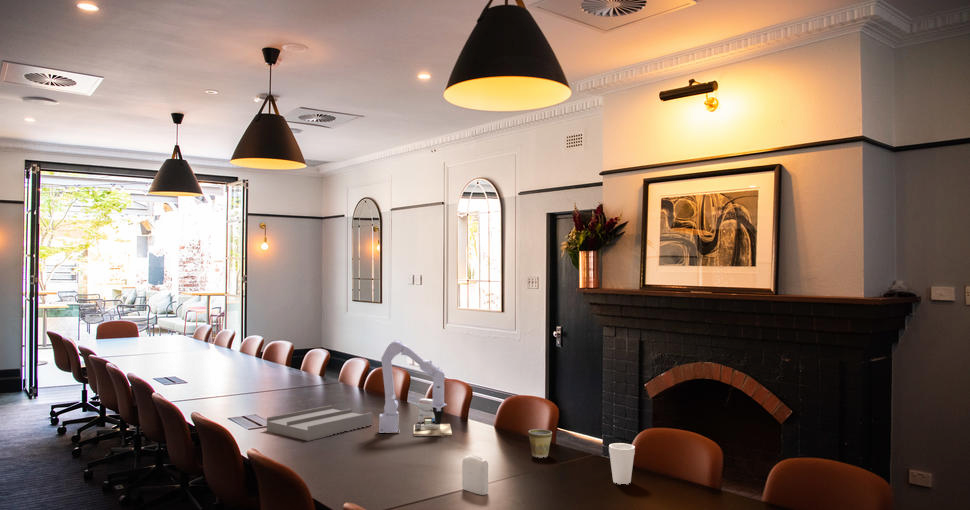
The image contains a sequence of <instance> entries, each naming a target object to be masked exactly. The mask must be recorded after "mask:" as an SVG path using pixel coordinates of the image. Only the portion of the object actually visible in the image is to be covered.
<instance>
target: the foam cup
mask: <svg viewBox="0 0 970 510" xmlns="http://www.w3.org/2000/svg"><path fill="white" fill-rule="evenodd" d="M635 449H636V446H635V445H633V444H629V443H622V442H618V443H617V442H615V443H610V444H609V445H608V453H609V458H610V460H609V461H610V467H611V473H612V476H611V477H612V481H613V483H614V484H616V483H617V484H616V485H621V484H626V485H629V483H630V484H631V481H632V473H633V465H634V460H635V459H634V458H635V454H636V453H635V452H636V450H635Z"/></svg>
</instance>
